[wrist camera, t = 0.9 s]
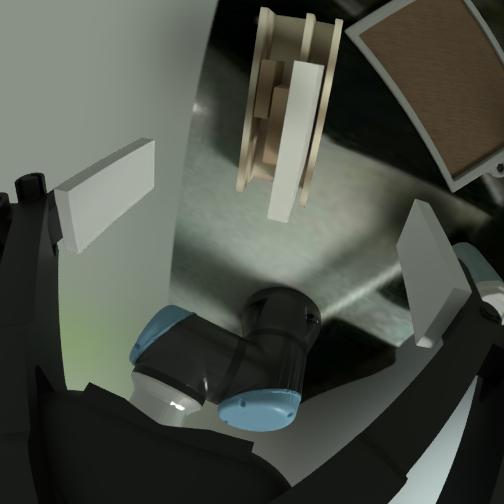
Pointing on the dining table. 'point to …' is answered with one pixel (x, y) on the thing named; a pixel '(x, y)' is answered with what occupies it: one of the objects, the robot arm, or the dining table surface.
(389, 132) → the dining table surface
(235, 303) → the dining table surface
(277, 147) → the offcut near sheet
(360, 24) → the picture frame
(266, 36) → the rack
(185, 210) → the dining table surface
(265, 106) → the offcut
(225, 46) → the dining table surface
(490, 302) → the disposable coffee cup
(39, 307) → the robot arm
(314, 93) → the tall sheet
